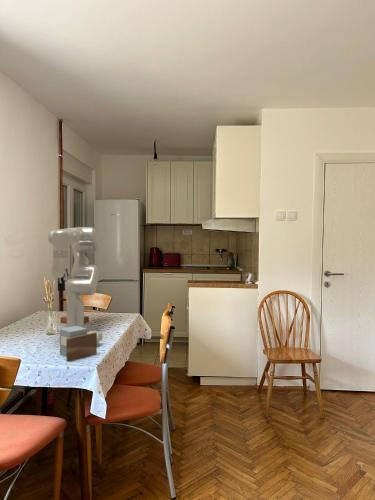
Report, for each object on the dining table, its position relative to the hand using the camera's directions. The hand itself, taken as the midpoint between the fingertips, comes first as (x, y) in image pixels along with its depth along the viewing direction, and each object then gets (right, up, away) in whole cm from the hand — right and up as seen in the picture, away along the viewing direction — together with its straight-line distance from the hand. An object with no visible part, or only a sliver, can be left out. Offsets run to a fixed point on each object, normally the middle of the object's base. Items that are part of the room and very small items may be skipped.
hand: (61, 290), depth 186 cm
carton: (-10, -27, +53) cm, 61 cm away
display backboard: (+16, -28, -19) cm, 38 cm away
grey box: (+11, -28, -14) cm, 33 cm away
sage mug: (+17, -28, 0) cm, 33 cm away
